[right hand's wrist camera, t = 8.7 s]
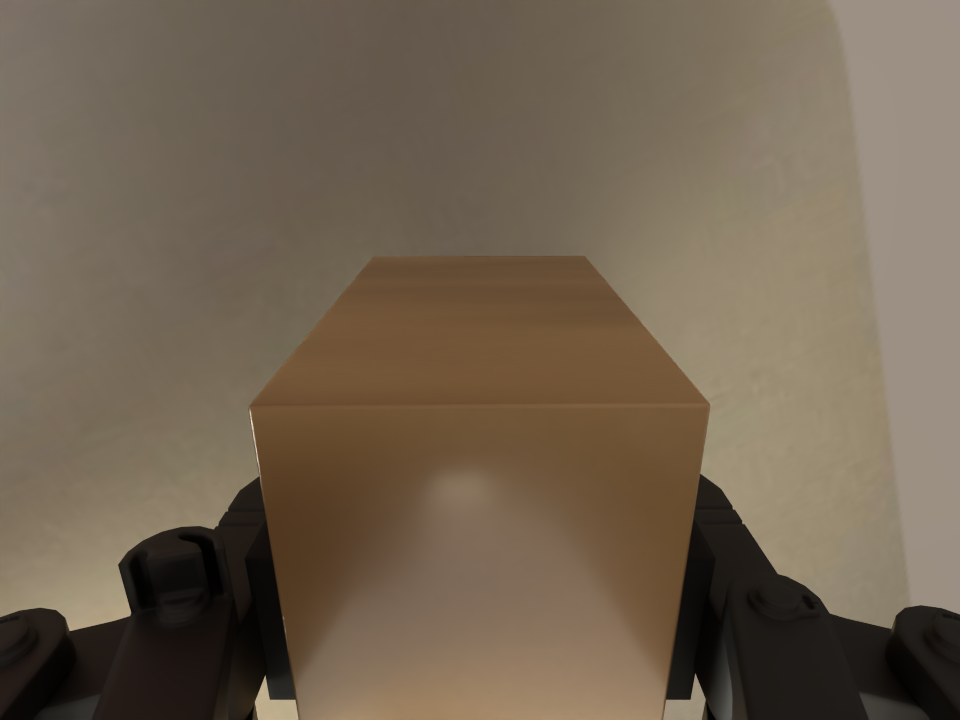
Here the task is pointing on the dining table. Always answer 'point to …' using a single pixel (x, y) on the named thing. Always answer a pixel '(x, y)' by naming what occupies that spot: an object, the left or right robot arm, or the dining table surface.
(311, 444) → the beam
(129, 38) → the dining table surface
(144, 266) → the dining table surface
